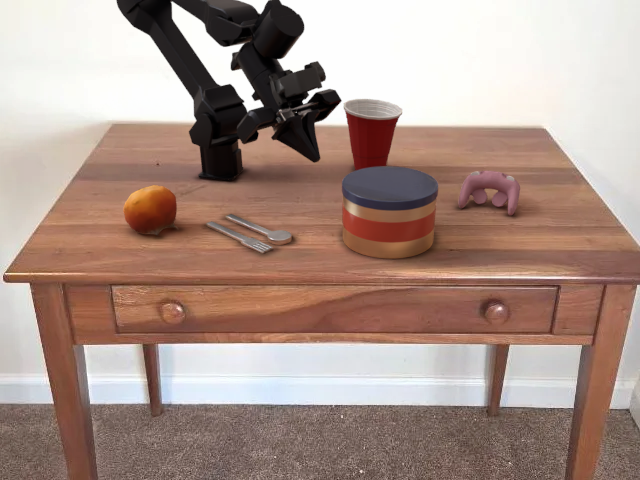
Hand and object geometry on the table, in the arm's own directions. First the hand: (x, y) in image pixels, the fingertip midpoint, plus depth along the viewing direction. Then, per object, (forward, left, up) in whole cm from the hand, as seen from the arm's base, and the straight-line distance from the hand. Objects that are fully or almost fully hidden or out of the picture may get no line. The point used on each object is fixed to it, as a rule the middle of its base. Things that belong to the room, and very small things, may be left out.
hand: (317, 160), depth 118 cm
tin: (+13, -7, -9) cm, 17 cm away
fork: (-9, -13, -9) cm, 18 cm away
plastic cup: (+4, +22, -9) cm, 24 cm away
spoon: (-7, -10, -9) cm, 15 cm away
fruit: (-23, -13, -9) cm, 28 cm away
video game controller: (+27, +10, -9) cm, 30 cm away
